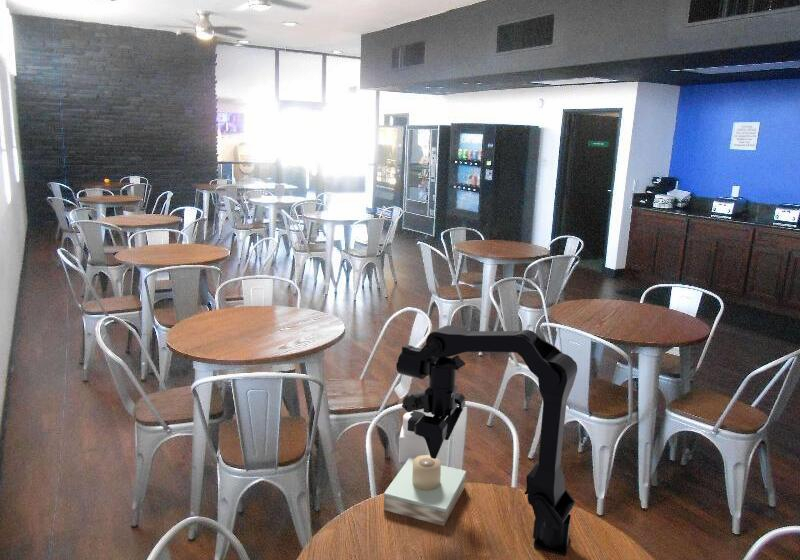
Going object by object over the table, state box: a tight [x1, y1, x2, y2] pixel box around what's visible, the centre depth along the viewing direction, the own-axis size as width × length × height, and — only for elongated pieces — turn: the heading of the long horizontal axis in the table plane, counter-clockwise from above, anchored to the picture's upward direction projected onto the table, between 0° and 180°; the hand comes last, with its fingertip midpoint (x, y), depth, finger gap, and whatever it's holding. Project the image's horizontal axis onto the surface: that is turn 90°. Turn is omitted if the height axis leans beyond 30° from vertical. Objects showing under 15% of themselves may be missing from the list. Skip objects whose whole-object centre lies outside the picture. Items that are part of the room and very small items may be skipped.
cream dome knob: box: [412, 454, 442, 491], centre depth 134 cm, size 6×6×5 cm
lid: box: [383, 458, 467, 512], centre depth 135 cm, size 14×16×1 cm
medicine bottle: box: [398, 410, 429, 464], centre depth 152 cm, size 7×7×12 cm
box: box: [383, 476, 466, 527], centre depth 135 cm, size 14×16×3 cm
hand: (440, 448), depth 133 cm, fingers open, 9 cm apart
